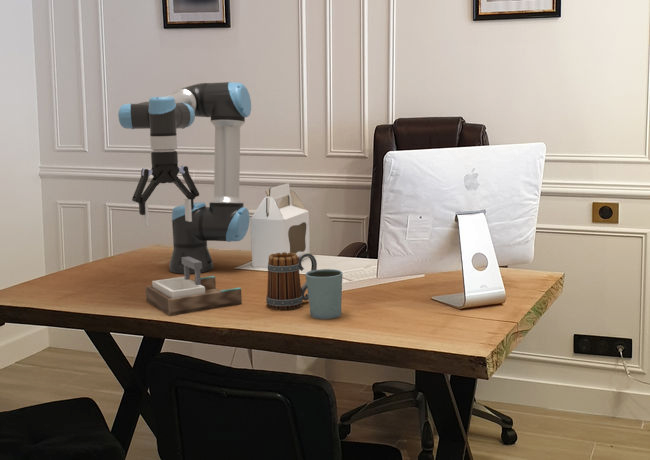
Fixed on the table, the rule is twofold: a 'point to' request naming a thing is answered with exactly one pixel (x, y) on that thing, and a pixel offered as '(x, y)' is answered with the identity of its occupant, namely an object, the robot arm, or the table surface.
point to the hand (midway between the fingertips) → (167, 223)
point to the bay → (195, 299)
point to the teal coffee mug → (324, 293)
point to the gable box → (279, 226)
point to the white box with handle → (182, 281)
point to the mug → (286, 281)
